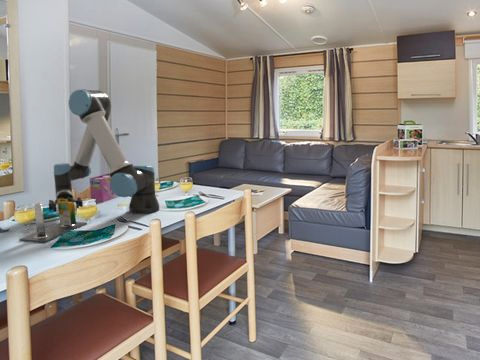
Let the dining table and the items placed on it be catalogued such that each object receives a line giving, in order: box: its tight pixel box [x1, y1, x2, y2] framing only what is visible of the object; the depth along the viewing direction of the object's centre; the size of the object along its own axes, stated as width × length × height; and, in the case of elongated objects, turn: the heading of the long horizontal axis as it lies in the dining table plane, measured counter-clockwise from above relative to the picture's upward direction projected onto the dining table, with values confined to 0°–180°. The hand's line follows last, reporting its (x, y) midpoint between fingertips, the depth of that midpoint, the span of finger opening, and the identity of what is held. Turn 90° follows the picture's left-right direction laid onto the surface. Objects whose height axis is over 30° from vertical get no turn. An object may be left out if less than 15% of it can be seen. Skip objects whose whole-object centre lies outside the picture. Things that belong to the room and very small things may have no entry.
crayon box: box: [57, 198, 77, 225], centre depth 169 cm, size 7×3×12 cm, turn 61°
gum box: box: [89, 173, 120, 203], centre depth 229 cm, size 24×8×14 cm, turn 164°
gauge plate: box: [18, 221, 88, 244], centre depth 164 cm, size 12×26×1 cm, turn 166°
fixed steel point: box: [34, 202, 46, 237], centre depth 155 cm, size 3×3×13 cm
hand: (66, 209), depth 166 cm, fingers closed on crayon box, 6 cm apart
